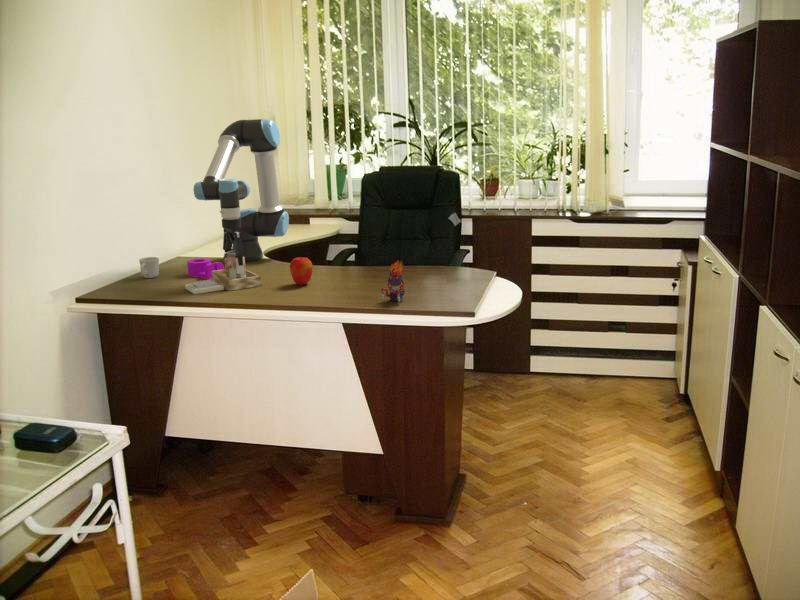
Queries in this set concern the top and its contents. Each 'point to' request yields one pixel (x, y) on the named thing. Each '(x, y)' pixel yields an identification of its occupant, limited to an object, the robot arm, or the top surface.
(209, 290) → the checker base
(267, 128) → the robot arm
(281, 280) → the top surface
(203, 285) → the grey square pad
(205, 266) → the magenta pipe bracket
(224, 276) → the trough board
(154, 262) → the cup
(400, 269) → the figurine
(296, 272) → the apple
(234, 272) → the beverage can
